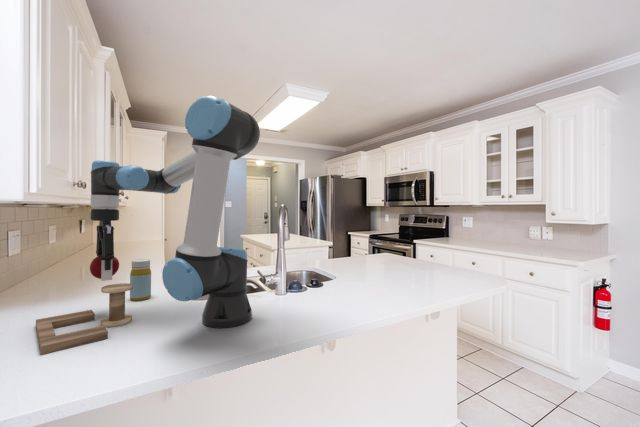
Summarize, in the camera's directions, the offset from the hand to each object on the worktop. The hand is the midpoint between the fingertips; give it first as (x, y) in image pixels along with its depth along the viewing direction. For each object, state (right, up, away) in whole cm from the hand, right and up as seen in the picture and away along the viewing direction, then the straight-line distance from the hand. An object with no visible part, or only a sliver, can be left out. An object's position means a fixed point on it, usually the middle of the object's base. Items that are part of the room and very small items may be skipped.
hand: (104, 277), depth 96 cm
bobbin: (+8, -12, -6) cm, 16 cm away
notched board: (+1, -12, -14) cm, 19 cm away
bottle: (+1, -12, +18) cm, 22 cm away
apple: (0, 0, 0) cm, 0 cm away
